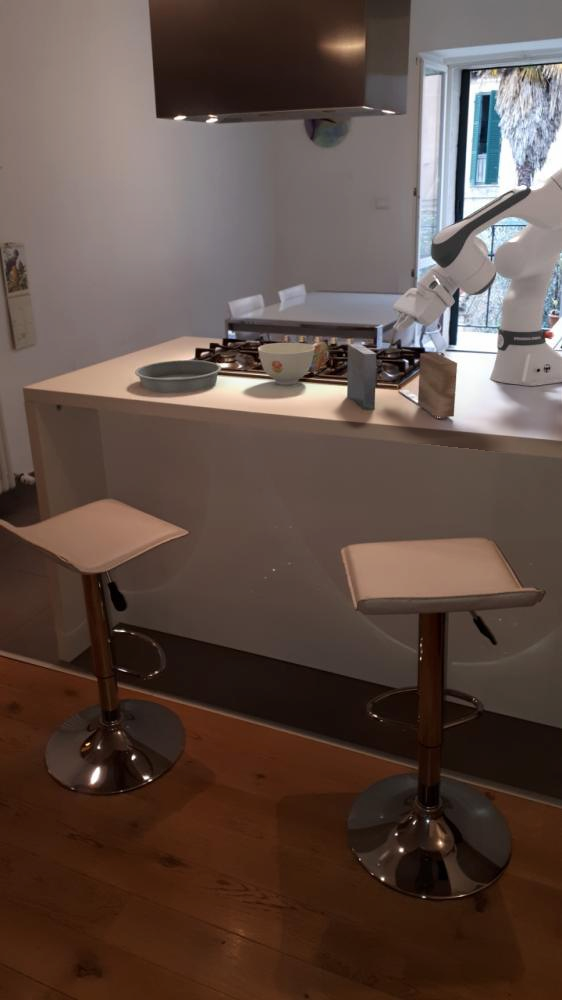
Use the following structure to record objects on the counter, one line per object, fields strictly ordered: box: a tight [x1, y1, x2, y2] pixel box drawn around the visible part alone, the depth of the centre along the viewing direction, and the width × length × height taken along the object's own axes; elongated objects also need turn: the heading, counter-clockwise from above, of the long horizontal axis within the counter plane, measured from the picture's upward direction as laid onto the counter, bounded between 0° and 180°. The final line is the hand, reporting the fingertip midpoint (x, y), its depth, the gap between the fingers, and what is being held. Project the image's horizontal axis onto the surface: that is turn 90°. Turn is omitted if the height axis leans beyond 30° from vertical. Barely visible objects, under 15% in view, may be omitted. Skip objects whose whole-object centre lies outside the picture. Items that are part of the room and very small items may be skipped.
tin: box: [308, 341, 331, 373], centre depth 243 cm, size 15×3×8 cm, turn 155°
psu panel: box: [346, 342, 435, 417], centre depth 203 cm, size 17×27×14 cm, turn 12°
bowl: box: [257, 342, 315, 386], centre depth 229 cm, size 16×16×10 cm
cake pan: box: [134, 359, 222, 393], centre depth 232 cm, size 25×25×4 cm
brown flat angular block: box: [417, 352, 458, 419], centre depth 196 cm, size 4×13×13 cm, turn 12°
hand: (396, 330), depth 208 cm, fingers closed
